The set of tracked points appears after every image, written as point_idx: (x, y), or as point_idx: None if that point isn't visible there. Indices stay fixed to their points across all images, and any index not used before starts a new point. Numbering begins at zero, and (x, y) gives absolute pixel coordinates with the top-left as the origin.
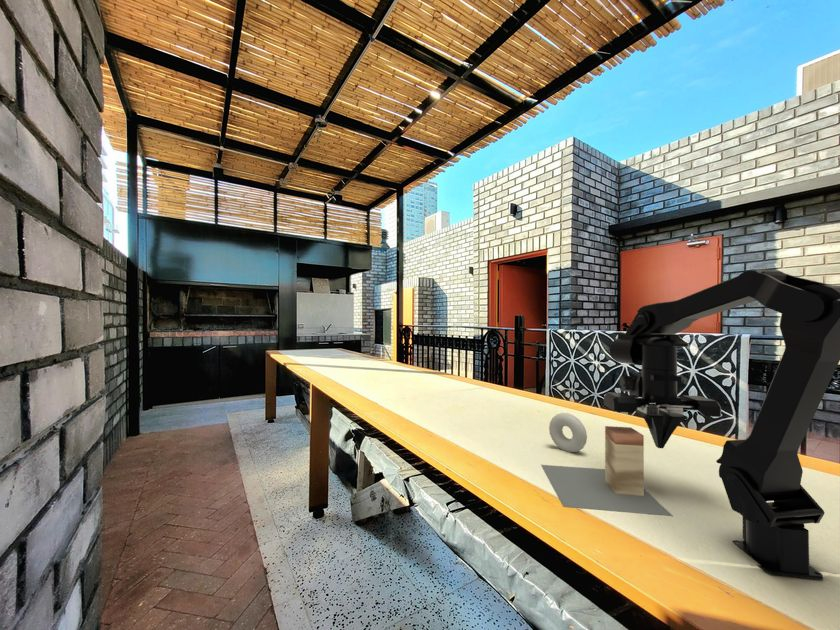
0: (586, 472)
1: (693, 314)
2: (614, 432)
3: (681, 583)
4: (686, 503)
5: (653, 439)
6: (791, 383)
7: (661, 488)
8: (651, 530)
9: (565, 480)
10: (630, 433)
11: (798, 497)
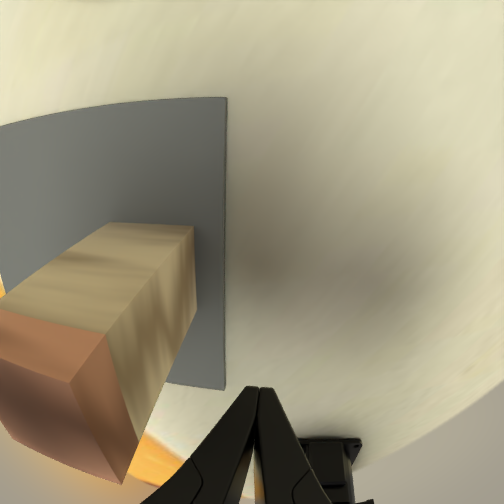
0: (72, 153)
1: None
2: (5, 426)
3: (156, 469)
4: (320, 320)
5: (226, 414)
6: None
7: (307, 228)
8: (159, 409)
9: (17, 230)
10: (63, 456)
11: None
